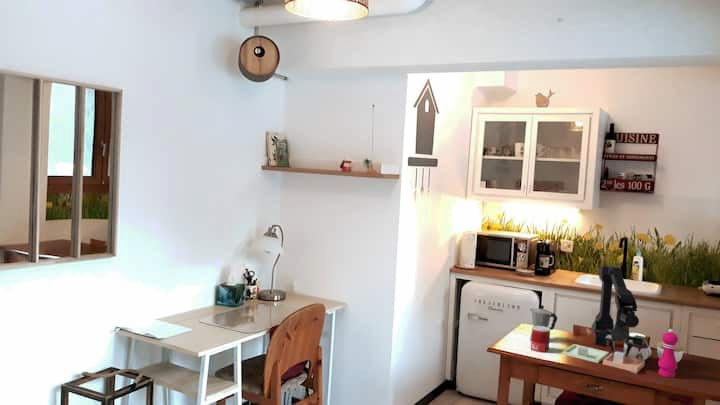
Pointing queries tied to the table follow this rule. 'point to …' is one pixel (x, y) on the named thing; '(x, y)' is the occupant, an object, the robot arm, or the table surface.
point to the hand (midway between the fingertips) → (619, 355)
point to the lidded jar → (677, 352)
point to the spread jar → (638, 349)
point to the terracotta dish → (625, 363)
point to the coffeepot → (542, 318)
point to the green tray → (593, 354)
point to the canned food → (540, 339)
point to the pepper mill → (668, 355)
